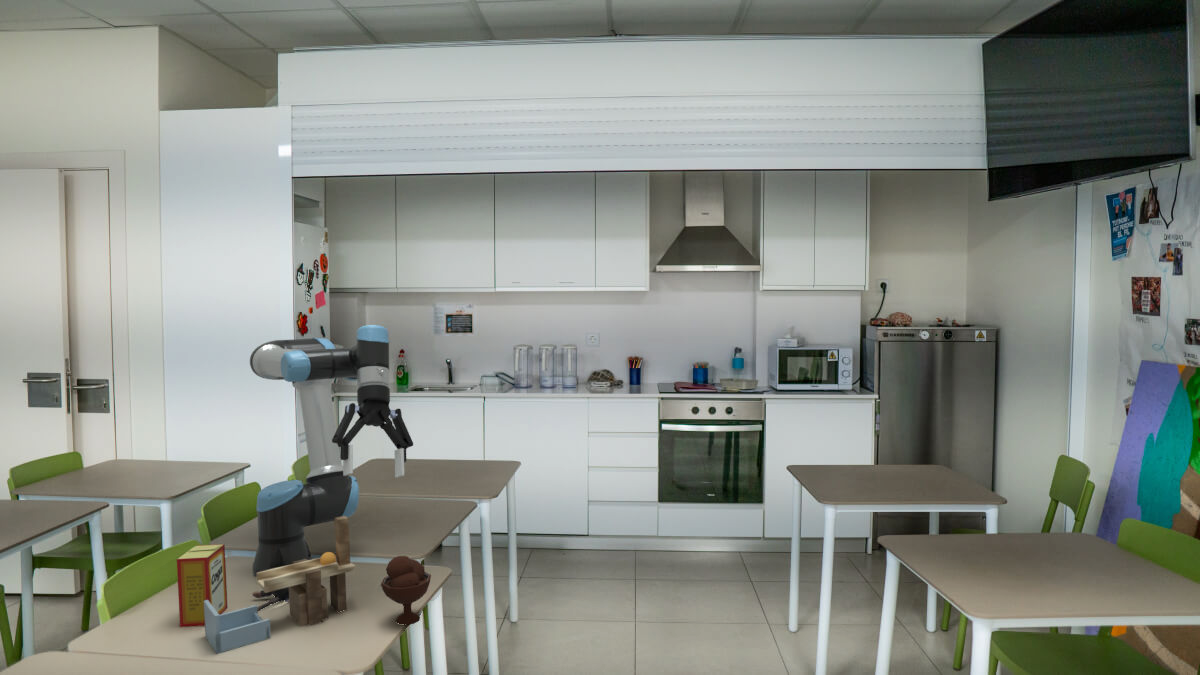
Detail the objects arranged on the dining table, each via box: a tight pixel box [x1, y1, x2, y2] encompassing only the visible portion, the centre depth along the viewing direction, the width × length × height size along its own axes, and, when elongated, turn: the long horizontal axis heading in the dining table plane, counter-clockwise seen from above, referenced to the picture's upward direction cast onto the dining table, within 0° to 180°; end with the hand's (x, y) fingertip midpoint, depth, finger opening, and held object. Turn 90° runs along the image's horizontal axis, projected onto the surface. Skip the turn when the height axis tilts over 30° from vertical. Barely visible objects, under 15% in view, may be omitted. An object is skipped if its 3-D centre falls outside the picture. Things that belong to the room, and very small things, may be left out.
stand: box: [288, 559, 348, 627], centre depth 169 cm, size 11×10×12 cm
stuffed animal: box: [252, 587, 289, 612], centre depth 179 cm, size 12×10×12 cm
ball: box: [320, 551, 336, 566], centre depth 170 cm, size 4×4×4 cm
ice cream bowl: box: [380, 555, 432, 626], centre depth 165 cm, size 11×11×15 cm
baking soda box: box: [176, 543, 228, 628], centre depth 168 cm, size 10×6×16 cm
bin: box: [204, 600, 271, 654], centre depth 158 cm, size 11×11×8 cm
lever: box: [255, 516, 356, 593], centre depth 167 cm, size 20×7×12 cm, turn 130°
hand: (374, 475), depth 168 cm, fingers open, 13 cm apart
